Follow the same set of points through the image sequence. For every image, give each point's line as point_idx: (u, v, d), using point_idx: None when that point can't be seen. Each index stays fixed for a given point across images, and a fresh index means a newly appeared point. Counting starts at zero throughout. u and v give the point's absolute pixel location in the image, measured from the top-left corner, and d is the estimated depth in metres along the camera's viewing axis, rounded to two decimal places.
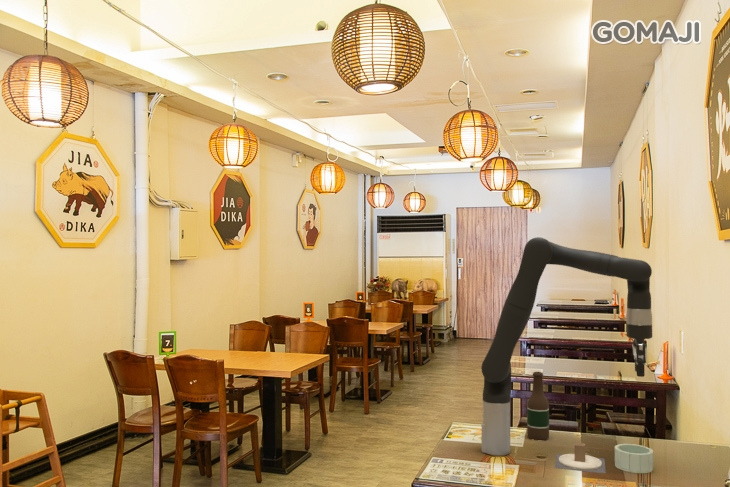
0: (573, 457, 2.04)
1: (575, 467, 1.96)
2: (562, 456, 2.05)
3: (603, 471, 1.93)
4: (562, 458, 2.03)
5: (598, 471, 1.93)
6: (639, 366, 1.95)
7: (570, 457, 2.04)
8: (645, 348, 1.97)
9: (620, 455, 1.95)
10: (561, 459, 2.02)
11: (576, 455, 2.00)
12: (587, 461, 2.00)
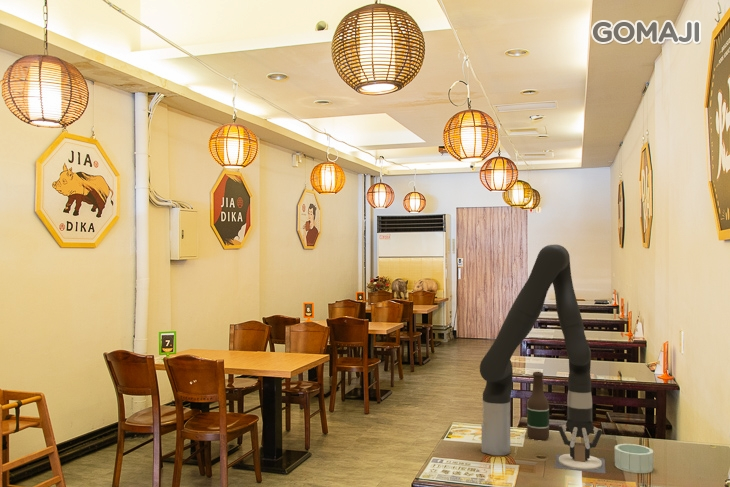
0: None
1: (575, 467, 1.96)
2: (562, 456, 2.05)
3: (603, 471, 1.93)
4: (562, 458, 2.03)
5: (598, 471, 1.93)
6: None
7: (570, 457, 2.04)
8: None
9: (620, 455, 1.95)
10: (561, 459, 2.02)
11: (576, 455, 2.00)
12: (587, 460, 2.00)
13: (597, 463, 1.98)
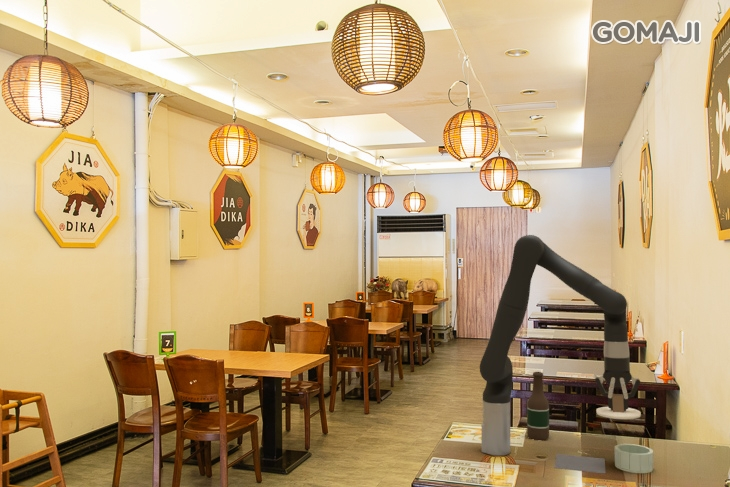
0: None
1: (614, 417, 1.93)
2: (599, 408, 2.02)
3: (603, 471, 1.93)
4: (600, 410, 2.00)
5: (598, 471, 1.93)
6: None
7: (608, 409, 2.01)
8: None
9: (620, 455, 1.95)
10: (599, 410, 1.99)
11: (614, 406, 1.97)
12: (625, 411, 1.97)
13: (636, 413, 1.95)
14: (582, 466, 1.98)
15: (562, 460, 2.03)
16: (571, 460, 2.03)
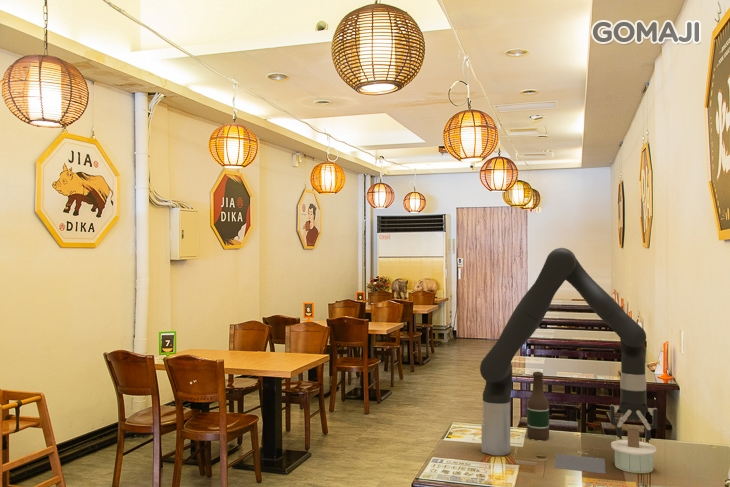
0: (626, 443, 2.00)
1: (630, 453, 1.92)
2: (614, 442, 2.01)
3: (603, 471, 1.93)
4: (615, 444, 1.99)
5: (598, 471, 1.93)
6: None
7: (623, 443, 2.00)
8: None
9: (620, 455, 1.95)
10: (614, 445, 1.98)
11: (630, 441, 1.97)
12: (641, 446, 1.97)
13: (652, 449, 1.94)
14: (582, 466, 1.98)
15: (562, 460, 2.03)
16: (571, 460, 2.03)
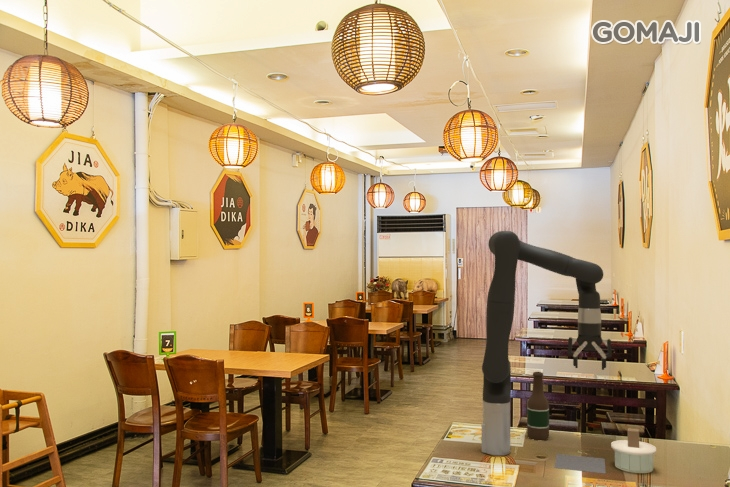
0: (626, 443, 2.00)
1: (630, 453, 1.92)
2: (614, 442, 2.01)
3: (603, 471, 1.93)
4: (615, 444, 1.99)
5: (598, 471, 1.93)
6: None
7: (623, 443, 2.00)
8: None
9: (620, 455, 1.95)
10: (614, 445, 1.98)
11: (630, 441, 1.97)
12: (641, 446, 1.97)
13: (652, 449, 1.94)
14: (582, 466, 1.98)
15: (562, 460, 2.03)
16: (571, 460, 2.03)
